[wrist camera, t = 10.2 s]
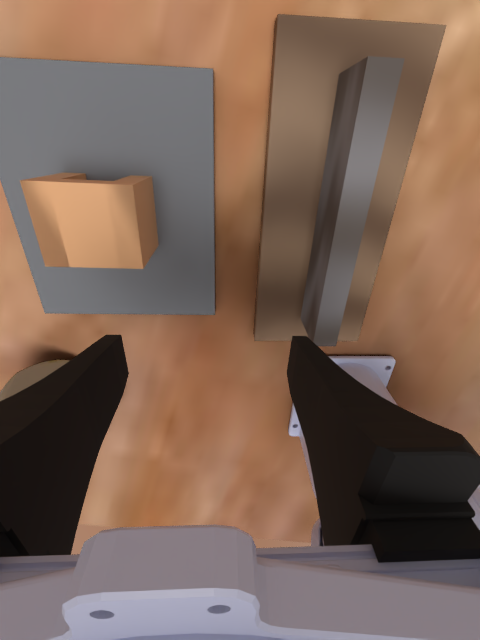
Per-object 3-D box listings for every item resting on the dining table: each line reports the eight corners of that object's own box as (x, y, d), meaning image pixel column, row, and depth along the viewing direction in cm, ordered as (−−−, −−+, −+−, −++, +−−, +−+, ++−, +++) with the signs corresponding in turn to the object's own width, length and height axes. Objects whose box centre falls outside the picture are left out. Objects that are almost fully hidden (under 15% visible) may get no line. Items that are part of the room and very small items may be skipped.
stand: (352, 334, 24) (377, 370, 20) (253, 333, 24) (259, 370, 20) (433, 31, 15) (506, -7, 11) (274, 21, 15) (293, -23, 11)
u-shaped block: (158, 245, 19) (143, 268, 16) (79, 242, 19) (45, 266, 15) (151, 176, 17) (132, 184, 14) (63, 172, 17) (19, 180, 13)
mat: (215, 310, 22) (214, 314, 22) (49, 309, 22) (44, 313, 21) (213, 71, 15) (212, 68, 15) (-33, 58, 15) (-42, 54, 14)
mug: (11, 421, 28) (-93, 478, 18) (79, 337, 29) (17, 348, 19) (78, 466, 29) (16, 545, 19) (144, 384, 29) (117, 418, 20)
